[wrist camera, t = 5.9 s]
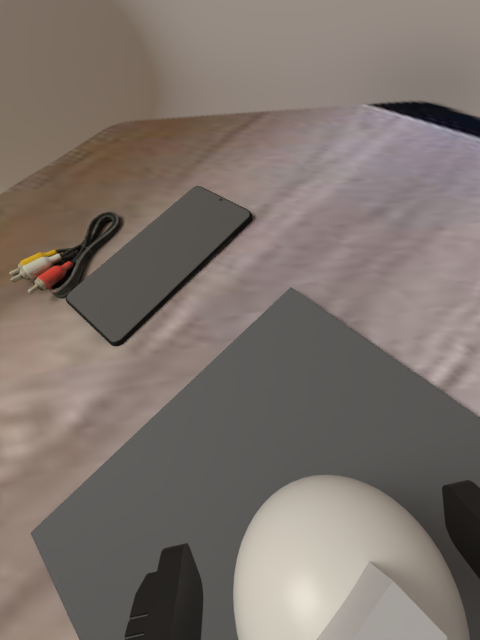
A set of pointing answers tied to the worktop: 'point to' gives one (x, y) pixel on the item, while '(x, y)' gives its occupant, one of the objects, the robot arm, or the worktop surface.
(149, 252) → the smartphone
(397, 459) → the mat
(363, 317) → the worktop surface
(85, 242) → the composite cable
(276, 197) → the worktop surface
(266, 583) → the white pump bottle
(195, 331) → the worktop surface
